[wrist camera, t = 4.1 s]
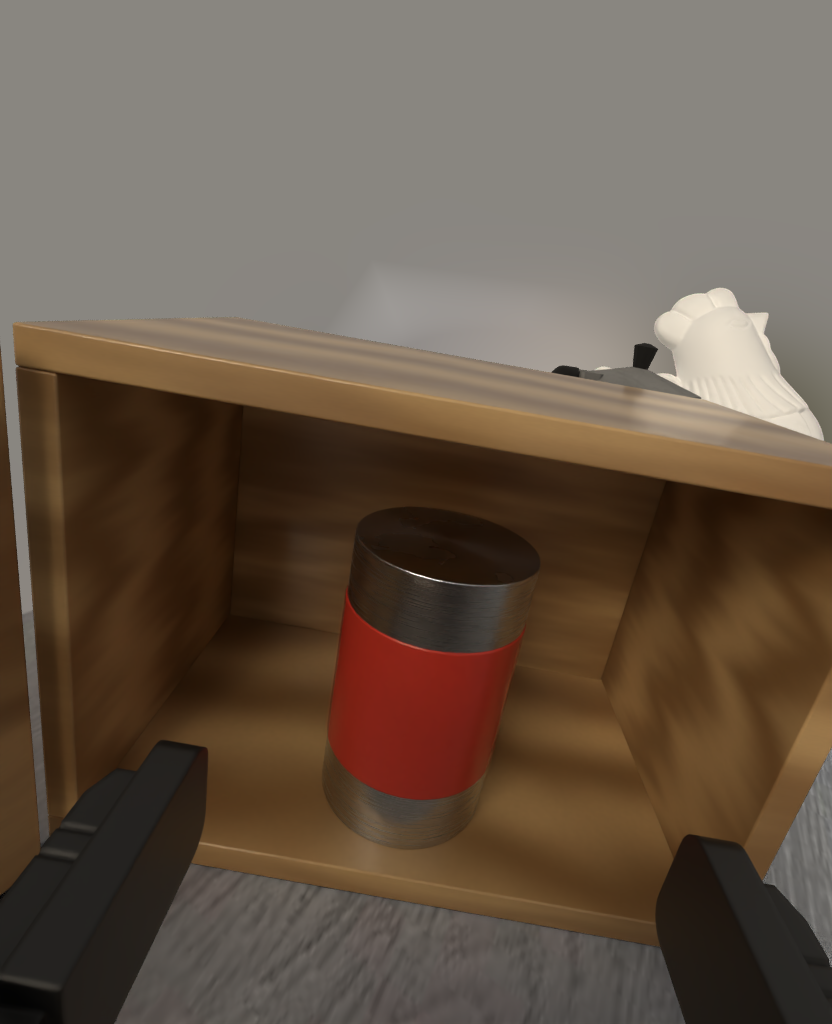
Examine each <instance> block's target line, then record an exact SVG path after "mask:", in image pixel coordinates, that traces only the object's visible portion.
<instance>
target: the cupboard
mask: <svg viewBox="0 0 832 1024" xmlns="http://www.w3.org/2000/svg"><path fill="white" fill-rule="evenodd" d="M13 336H14V350H15V363H16V365H18V366H19V367H17V368H16V381H17V395H18V408H19V422H20V435H21V448H22V449H21V450H22V462H23V463H22V464H23V477H24V491H25V504H26V518H27V533H28V546H29V560H30V574H31V587H32V601H33V616H34V629H35V643H36V657H37V671H38V685H39V698H40V712H41V726H42V740H43V754H44V767H45V781H46V795H47V809H48V814H49V816H48V822H49V836H51V834H52V833H53V832H54V830H55V829H56V828H59V827H60V825H61V821H62V820H63V819H64V817H65V816H66V815H67V814H68V812H69V811H70V810H71V808H72V807H73V806H74V805H75V803H76V802H77V801H78V799H79V798H80V797H81V795H82V794H83V793H84V792H85V791H86V790H87V789H89V788H90V787H91V786H93V785H94V784H96V783H97V782H98V781H100V780H101V779H103V778H104V777H105V776H107V775H108V774H109V773H111V772H112V771H114V770H115V769H116V768H121V769H127V770H132V771H137V770H138V769H139V767H140V766H141V764H142V763H143V761H144V760H145V759H146V757H147V756H148V754H149V753H150V751H151V750H152V748H153V747H154V746H155V745H156V744H157V742H159V741H160V740H168V741H174V742H179V743H185V744H191V745H197V746H202V747H206V748H207V749H208V774H207V795H206V814H205V822H204V827H203V831H202V835H201V838H200V841H199V845H198V847H197V850H196V853H195V855H194V857H193V860H192V862H191V863H193V864H199V865H204V866H210V867H215V868H221V869H227V870H232V871H238V872H243V873H249V874H255V875H260V876H266V877H271V878H277V879H283V880H288V881H294V882H299V883H305V884H311V885H316V886H322V887H327V888H333V889H339V890H344V891H350V892H355V893H361V894H367V895H372V896H378V897H384V898H389V899H395V900H400V901H406V902H412V903H417V904H423V905H428V906H434V907H440V908H445V909H451V910H456V911H462V912H468V913H473V914H479V915H484V916H490V917H496V918H501V919H507V920H512V921H518V922H524V923H529V924H535V925H540V926H546V927H552V928H557V929H563V930H569V931H574V932H580V933H585V934H591V935H597V936H602V937H608V938H613V939H619V940H625V941H630V942H636V943H641V944H647V945H653V946H658V947H660V944H659V940H658V936H657V930H656V921H655V910H656V902H657V898H658V895H659V892H660V890H661V888H662V885H663V883H664V881H665V878H666V876H667V874H668V871H669V869H670V867H671V864H672V862H673V860H674V857H675V855H676V853H677V850H678V848H679V846H680V843H681V841H682V839H683V838H684V837H685V836H686V835H688V834H693V835H699V836H704V837H710V838H716V839H721V840H727V841H733V842H736V843H738V844H740V845H741V846H742V847H743V848H744V850H745V851H746V853H747V854H748V856H749V858H750V860H751V861H752V863H753V865H754V867H755V869H756V871H757V872H758V874H759V876H760V878H761V880H762V881H763V879H764V877H765V875H766V873H767V871H768V869H769V867H770V865H771V863H772V861H773V859H774V858H775V856H776V854H777V852H778V850H779V848H780V846H781V844H782V842H783V840H784V838H785V836H786V834H787V832H788V831H789V829H790V827H791V825H792V823H793V821H794V819H795V817H796V815H797V813H798V811H799V809H800V807H801V805H802V804H803V802H804V800H805V798H806V796H807V794H808V792H809V790H810V788H811V786H812V784H813V782H814V780H815V779H816V777H817V775H818V773H819V771H820V769H821V767H822V765H823V763H824V761H825V759H826V757H827V755H828V753H829V752H830V750H831V748H832V444H831V443H828V442H825V441H822V440H819V439H816V438H814V437H811V436H808V435H805V434H802V433H799V432H796V431H793V430H791V429H788V428H785V427H782V426H779V425H776V424H773V423H770V422H768V421H765V420H762V419H759V418H756V417H753V416H750V415H747V414H745V413H742V412H739V411H736V410H733V409H730V408H727V407H724V406H722V405H719V404H716V403H713V402H710V401H707V400H703V399H697V398H692V397H686V396H680V395H675V394H669V393H663V392H658V391H652V390H646V389H641V388H635V387H629V386H624V385H618V384H612V383H607V382H601V381H595V380H590V379H584V378H578V377H573V376H567V375H561V374H556V373H550V372H544V371H539V370H533V369H527V368H522V367H516V366H510V365H504V364H499V363H492V362H487V361H482V360H476V359H470V358H465V357H459V356H453V355H448V354H442V353H436V352H431V351H425V350H419V349H413V348H408V347H402V346H397V345H391V344H385V343H379V342H373V341H368V340H363V339H357V338H351V337H346V336H340V335H334V334H329V333H323V332H317V331H312V330H306V329H300V328H295V327H289V326H283V325H278V324H272V323H266V322H260V321H254V320H249V319H243V318H238V317H216V318H214V317H213V318H172V319H171V318H169V319H127V320H83V321H42V322H41V321H38V322H15V323H13ZM395 507H429V508H438V509H445V510H451V511H456V512H461V513H465V514H469V515H473V516H476V517H479V518H482V519H485V520H488V521H491V522H493V523H496V524H498V525H501V526H503V527H505V528H507V529H509V530H511V531H513V532H514V533H516V534H518V535H519V536H521V537H522V538H524V539H525V540H526V541H528V542H529V543H530V544H531V545H532V546H533V547H534V548H535V549H536V551H537V552H538V554H539V556H540V559H541V567H540V570H539V574H538V578H537V582H536V586H535V589H534V593H533V597H532V601H531V604H530V608H529V612H528V616H527V620H526V629H525V633H524V637H523V641H522V645H521V648H520V652H519V656H518V660H517V663H516V667H515V671H514V675H513V678H512V682H511V686H510V690H509V693H508V697H507V701H506V705H505V709H504V712H503V716H502V720H501V724H500V727H499V731H498V735H497V739H496V742H495V746H494V750H493V754H492V757H491V761H490V764H489V766H488V768H487V771H486V774H485V778H484V782H483V786H482V789H481V793H480V797H479V801H478V805H477V808H476V811H475V814H474V816H473V818H472V820H471V821H470V822H469V824H468V825H467V826H466V827H465V828H464V829H463V831H462V832H460V833H459V834H458V835H456V836H455V837H454V838H452V839H450V840H448V841H447V842H445V843H442V844H439V845H437V846H433V847H429V848H424V849H413V850H412V849H397V848H391V847H387V846H383V845H380V844H377V843H374V842H372V841H369V840H367V839H365V838H363V837H362V836H360V835H358V834H356V833H355V832H354V831H352V830H351V829H349V828H348V827H347V826H346V825H345V824H344V823H343V822H342V821H341V820H340V819H339V818H338V817H337V816H336V814H335V813H334V812H333V810H332V809H331V807H330V805H329V804H328V801H327V799H326V797H325V794H324V790H323V786H322V768H323V761H324V754H325V747H326V740H327V723H328V715H329V708H330V701H331V693H332V686H333V679H334V672H335V665H336V657H337V650H338V643H339V636H340V628H341V621H342V614H343V607H344V599H345V592H346V588H347V585H348V582H349V575H350V567H351V560H352V553H353V546H354V539H355V531H356V527H357V524H358V523H359V522H360V520H361V519H362V518H364V517H365V516H366V515H368V514H370V513H373V512H376V511H379V510H383V509H388V508H395Z"/></svg>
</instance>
